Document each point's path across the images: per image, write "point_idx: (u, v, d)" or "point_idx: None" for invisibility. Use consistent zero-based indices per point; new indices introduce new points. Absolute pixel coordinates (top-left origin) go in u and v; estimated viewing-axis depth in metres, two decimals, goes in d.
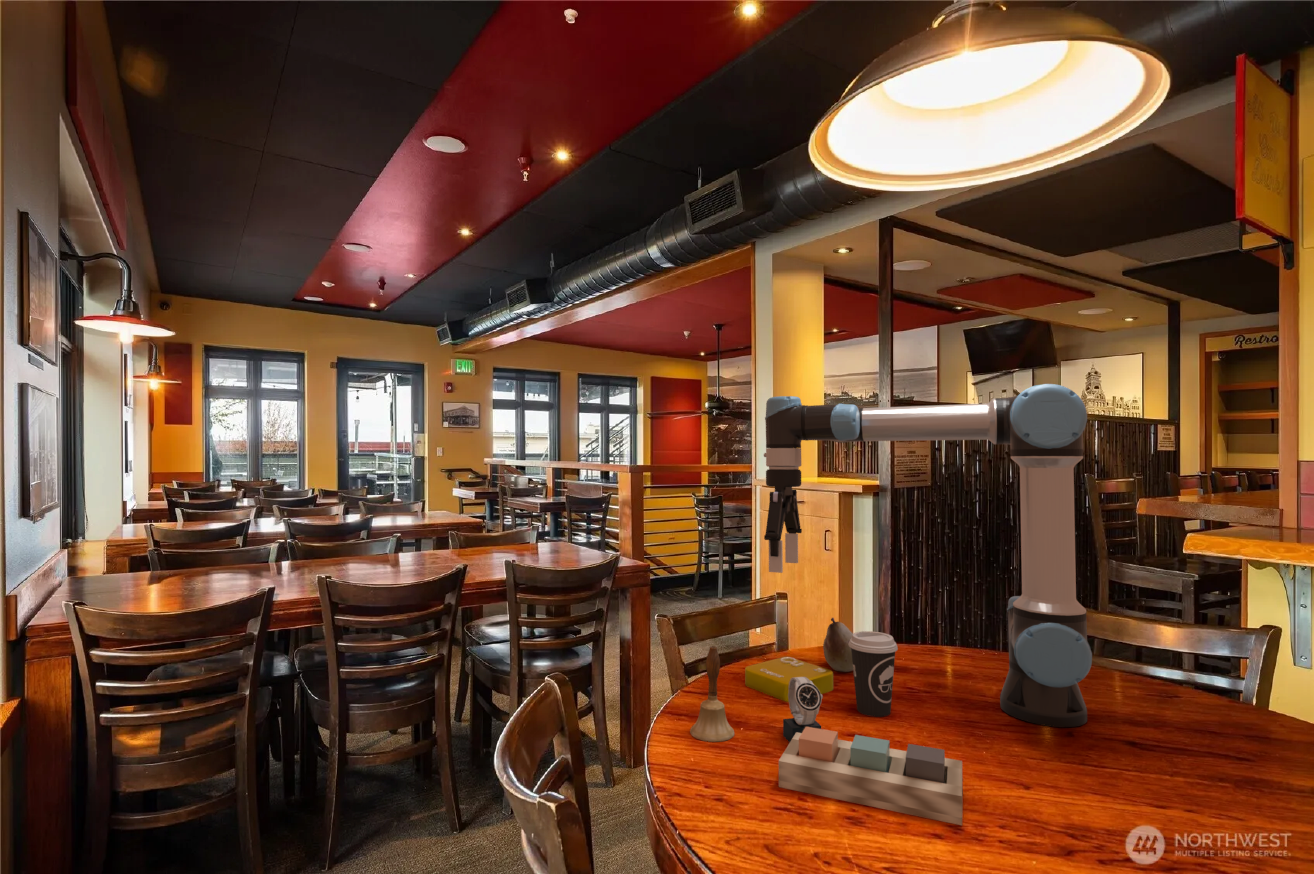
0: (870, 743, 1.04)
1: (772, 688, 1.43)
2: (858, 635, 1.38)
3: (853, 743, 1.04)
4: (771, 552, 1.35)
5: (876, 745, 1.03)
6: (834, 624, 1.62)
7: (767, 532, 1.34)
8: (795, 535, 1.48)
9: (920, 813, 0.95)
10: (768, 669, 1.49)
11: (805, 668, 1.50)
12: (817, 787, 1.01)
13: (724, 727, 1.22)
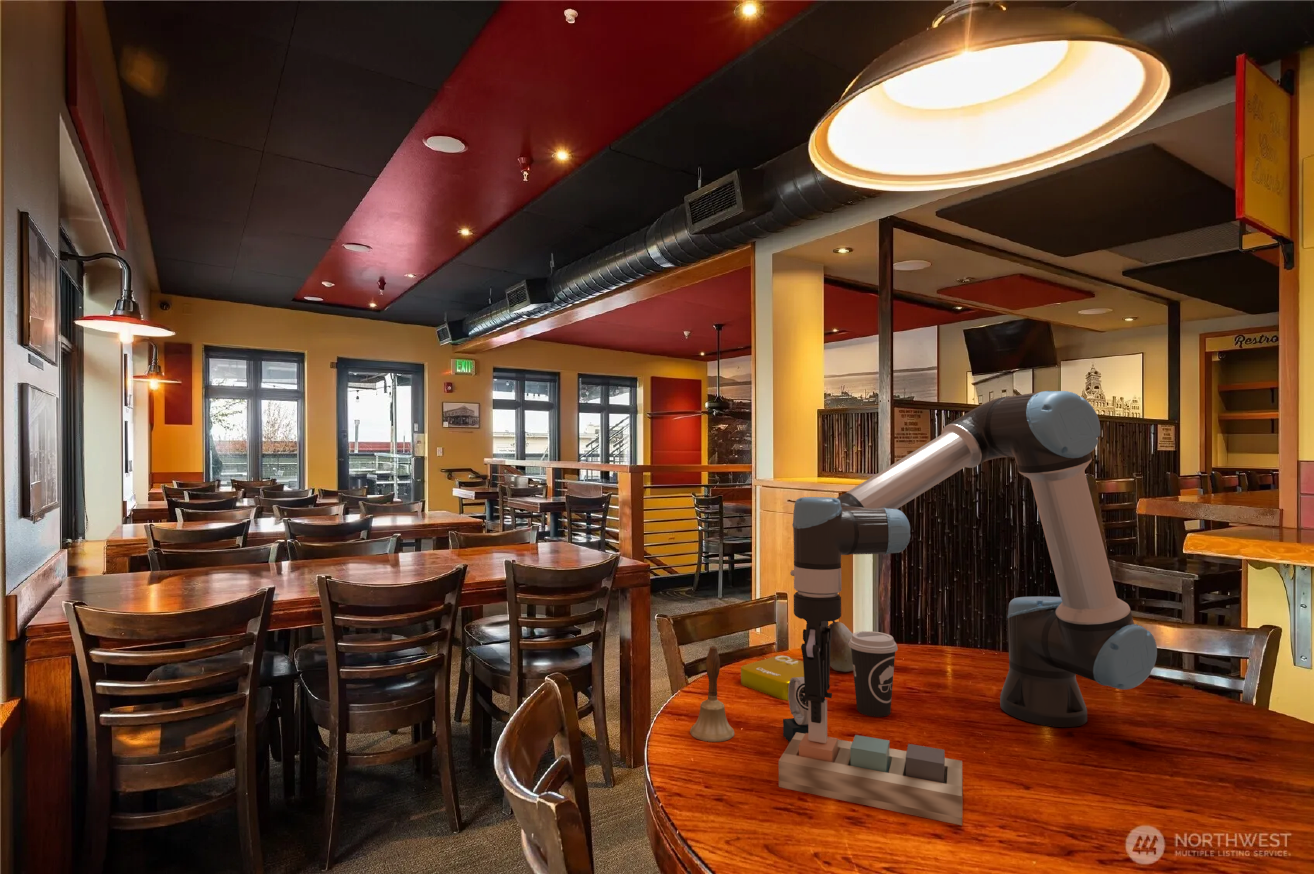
0: (870, 743, 1.04)
1: (769, 687, 1.44)
2: (858, 635, 1.38)
3: (853, 743, 1.04)
4: (812, 717, 1.06)
5: (876, 745, 1.03)
6: (834, 624, 1.62)
7: (807, 696, 1.04)
8: None
9: (920, 813, 0.95)
10: (764, 668, 1.50)
11: (800, 666, 1.51)
12: (817, 787, 1.01)
13: (724, 727, 1.22)
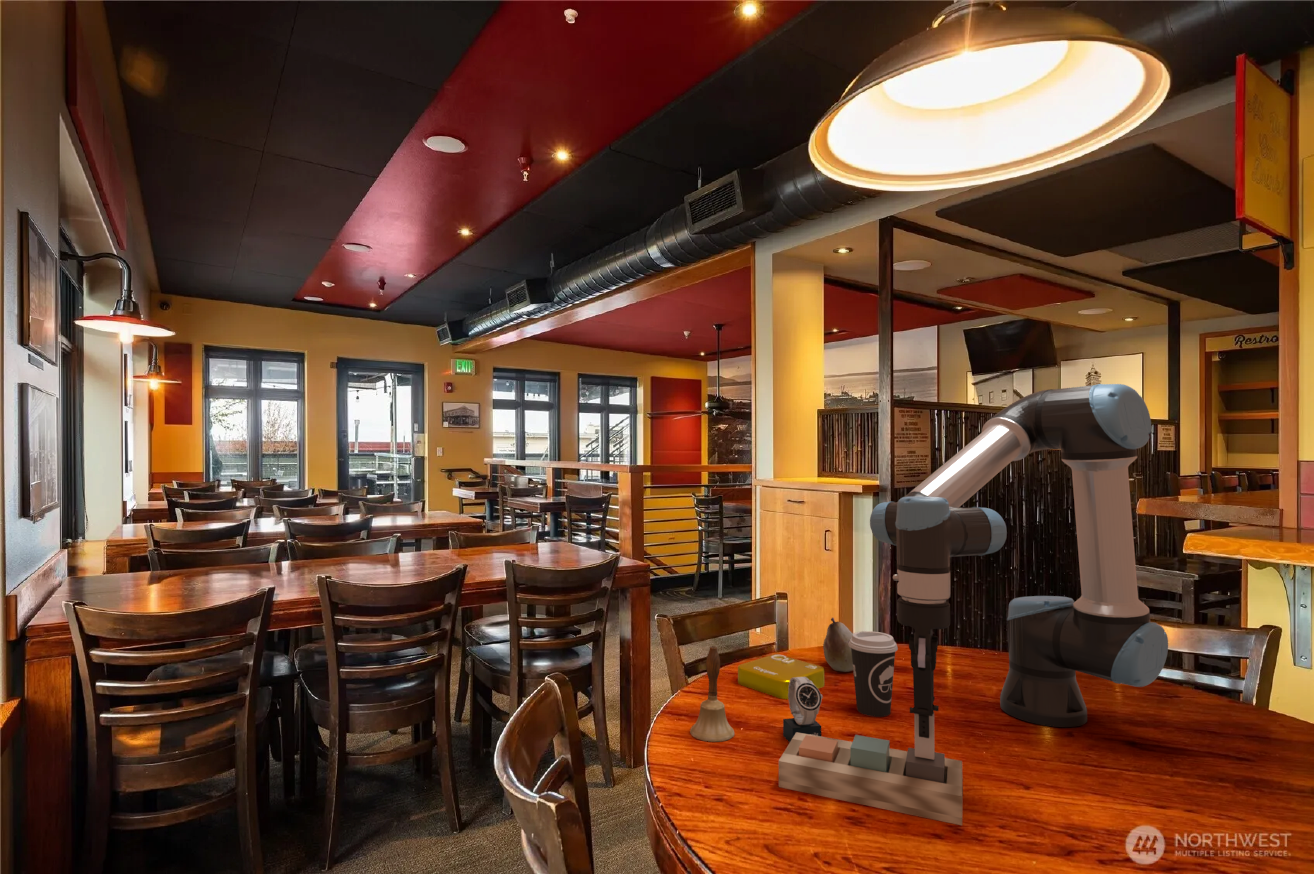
0: (870, 743, 1.04)
1: (767, 685, 1.45)
2: (858, 635, 1.38)
3: (853, 743, 1.04)
4: (920, 732, 0.99)
5: (876, 745, 1.03)
6: (834, 624, 1.62)
7: (916, 709, 0.98)
8: (931, 715, 1.00)
9: (920, 813, 0.95)
10: (761, 667, 1.51)
11: (796, 665, 1.52)
12: (817, 787, 1.01)
13: (724, 727, 1.22)
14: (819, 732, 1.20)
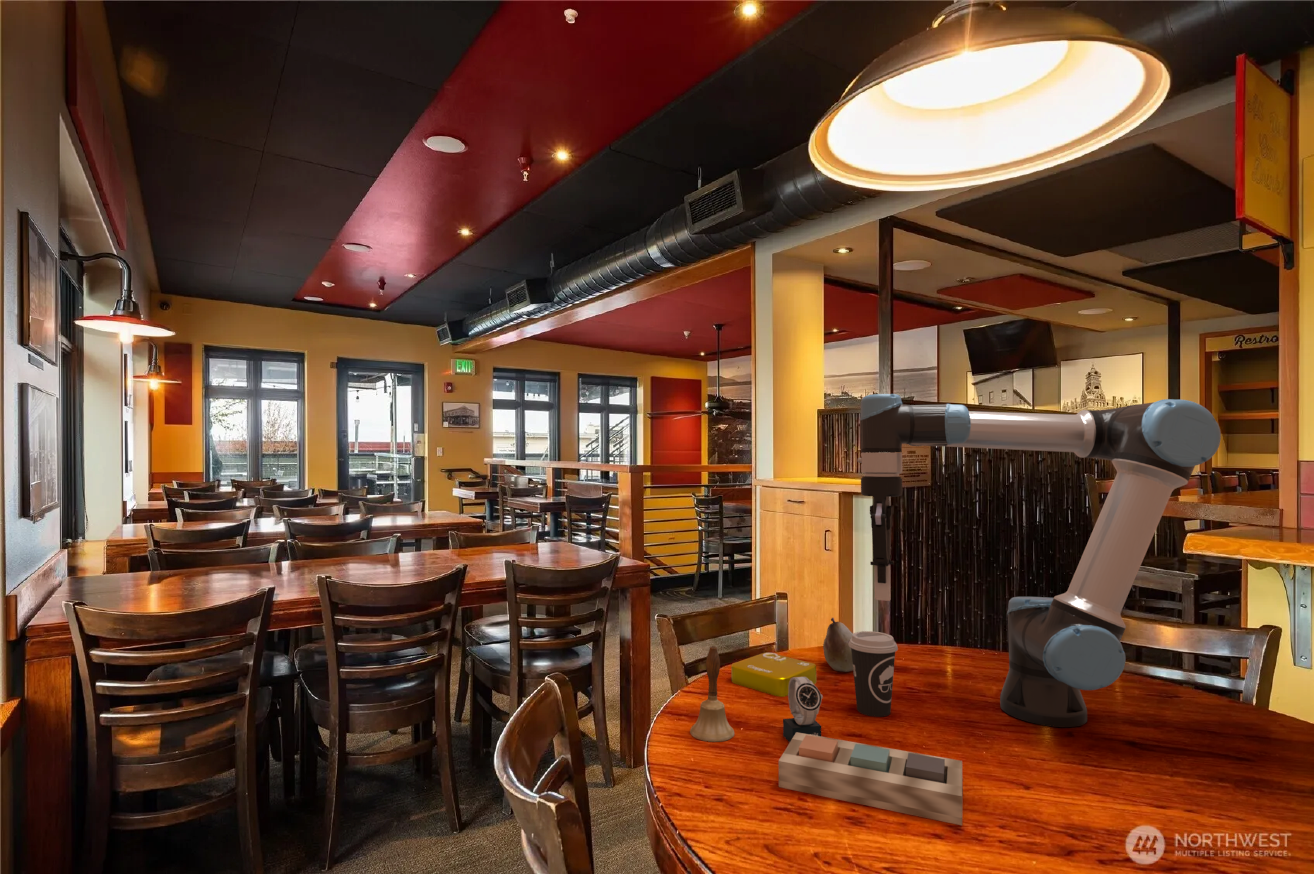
0: (870, 752, 1.04)
1: (762, 683, 1.46)
2: (858, 635, 1.38)
3: (853, 752, 1.04)
4: (878, 578, 1.25)
5: (876, 754, 1.03)
6: (834, 624, 1.62)
7: (875, 559, 1.24)
8: None
9: (920, 813, 0.95)
10: (754, 665, 1.52)
11: (789, 663, 1.54)
12: (817, 787, 1.01)
13: (724, 727, 1.22)
14: (819, 732, 1.20)
